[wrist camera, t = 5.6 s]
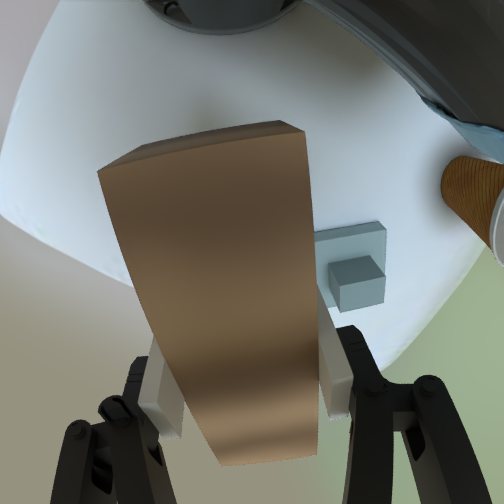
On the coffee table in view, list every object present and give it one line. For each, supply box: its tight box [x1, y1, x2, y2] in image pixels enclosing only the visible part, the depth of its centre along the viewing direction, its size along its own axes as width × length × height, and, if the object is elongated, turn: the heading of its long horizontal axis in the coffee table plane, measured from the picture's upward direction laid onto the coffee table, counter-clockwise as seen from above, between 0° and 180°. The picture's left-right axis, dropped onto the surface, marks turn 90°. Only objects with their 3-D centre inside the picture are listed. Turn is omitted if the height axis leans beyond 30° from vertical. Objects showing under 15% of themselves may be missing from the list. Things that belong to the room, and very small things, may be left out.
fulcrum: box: [314, 221, 387, 313], centre depth 30 cm, size 8×8×6 cm
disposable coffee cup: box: [441, 156, 504, 267], centre depth 24 cm, size 10×10×12 cm
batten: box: [97, 120, 319, 466], centre depth 15 cm, size 18×6×5 cm, turn 8°
